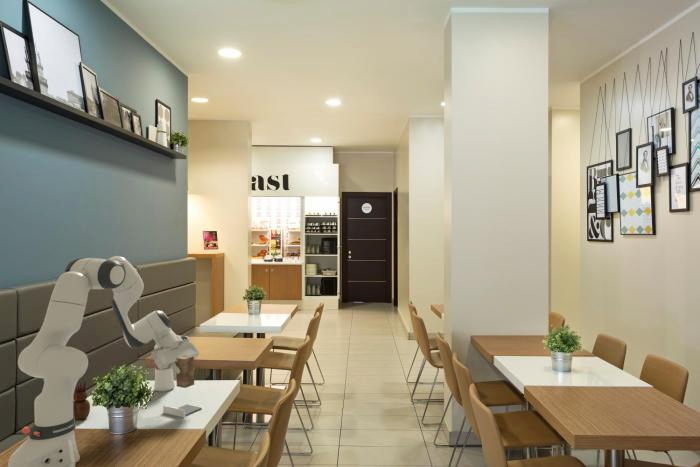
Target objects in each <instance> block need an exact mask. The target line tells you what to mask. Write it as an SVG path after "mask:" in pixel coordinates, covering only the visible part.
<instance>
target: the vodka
mask: <svg viewBox="0 0 700 467" xmlns="http://www.w3.org/2000/svg"><path fill="white" fill-rule="evenodd" d="M157 348H158V347H157V345H156V344H155V345H154V347H153V349H157ZM174 387H176V386H175V378H174V370H173V369H171V367H168V368H165V369H159V368H158V367H157V365H156V363H155V362H154V384H153V389H154V391H155V392H159V393H161V392H169V391H171V390H173V389H174Z"/></svg>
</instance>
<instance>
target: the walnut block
mask: <svg viewBox="0 0 700 467" xmlns="http://www.w3.org/2000/svg"><path fill="white" fill-rule="evenodd" d="M177 360H178V361H177V362H176V366H177V367H178V368H181V369H182V372H181V373H179V374H177V372H176V371H175V373H176V387H178V388H184V389H186V388H189V387H191V386H194V385H195V364H194V362H195V359H194V356H188V355H184V356H181V357H178V358H177Z"/></svg>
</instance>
